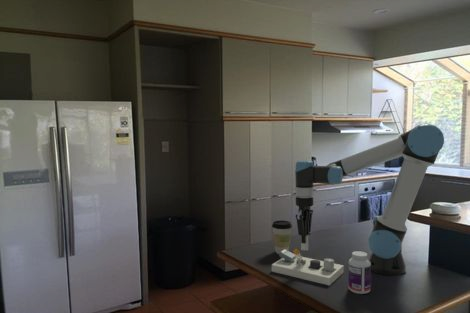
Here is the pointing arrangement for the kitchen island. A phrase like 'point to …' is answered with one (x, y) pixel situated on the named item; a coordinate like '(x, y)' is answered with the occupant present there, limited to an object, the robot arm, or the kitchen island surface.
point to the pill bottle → (359, 273)
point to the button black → (315, 264)
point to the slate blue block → (287, 255)
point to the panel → (307, 270)
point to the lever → (298, 256)
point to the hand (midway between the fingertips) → (304, 249)
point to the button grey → (328, 265)
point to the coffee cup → (281, 235)
